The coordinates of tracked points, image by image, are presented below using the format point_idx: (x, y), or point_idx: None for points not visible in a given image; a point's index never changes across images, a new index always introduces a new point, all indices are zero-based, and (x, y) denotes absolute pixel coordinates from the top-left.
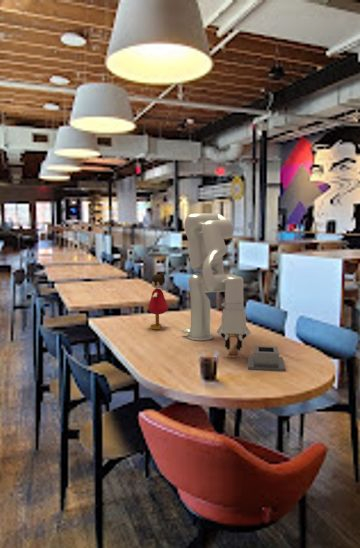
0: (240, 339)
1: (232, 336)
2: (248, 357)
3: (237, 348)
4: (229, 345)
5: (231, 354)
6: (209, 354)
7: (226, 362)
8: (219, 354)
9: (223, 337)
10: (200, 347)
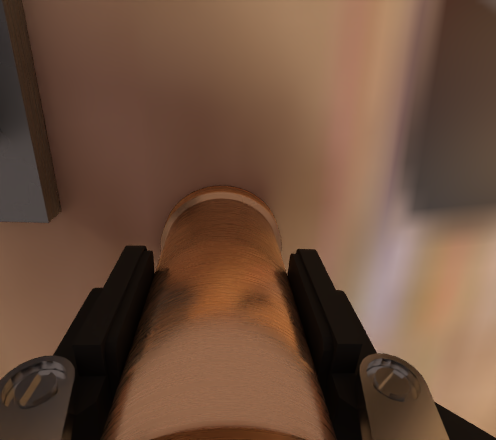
0: (51, 384)
1: (254, 430)
2: (25, 147)
3: (162, 265)
4: (286, 289)
5: (244, 207)
6: (449, 267)
7: (309, 11)
8: (355, 278)
9: (450, 419)
10: (477, 407)
